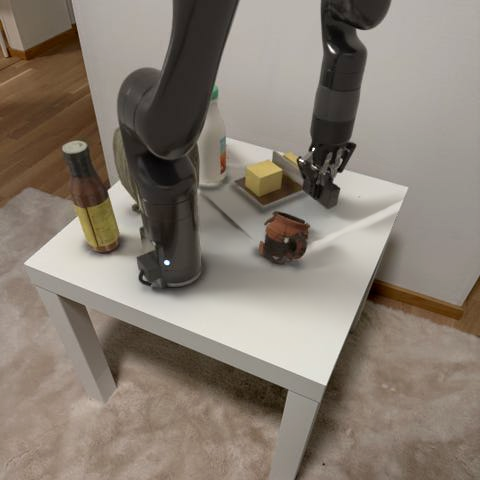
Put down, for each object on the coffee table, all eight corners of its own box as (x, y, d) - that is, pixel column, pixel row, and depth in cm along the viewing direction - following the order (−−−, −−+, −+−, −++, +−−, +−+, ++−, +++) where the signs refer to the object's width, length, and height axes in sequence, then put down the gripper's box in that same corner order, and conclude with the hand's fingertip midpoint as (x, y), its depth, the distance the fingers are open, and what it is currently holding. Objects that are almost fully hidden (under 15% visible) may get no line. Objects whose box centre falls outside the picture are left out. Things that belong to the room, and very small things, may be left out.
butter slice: (294, 182, 98) (297, 164, 94) (280, 172, 100) (282, 154, 97) (301, 180, 99) (304, 161, 95) (287, 170, 101) (289, 151, 98)
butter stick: (258, 197, 94) (260, 178, 91) (245, 185, 97) (245, 167, 93) (280, 188, 96) (282, 169, 93) (266, 177, 99) (268, 159, 95)
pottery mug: (246, 246, 87) (260, 205, 83) (283, 253, 92) (298, 215, 89) (278, 271, 78) (295, 226, 75) (317, 277, 83) (335, 236, 80)
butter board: (262, 211, 93) (263, 205, 92) (233, 186, 99) (233, 180, 98) (322, 187, 100) (324, 181, 99) (292, 165, 105) (292, 159, 104)
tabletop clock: (185, 189, 98) (176, 67, 78) (206, 211, 93) (201, 86, 74) (124, 209, 92) (98, 83, 73) (142, 233, 87) (119, 105, 68)
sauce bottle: (125, 234, 87) (103, 137, 72) (116, 255, 83) (91, 157, 68) (92, 231, 87) (64, 135, 72) (82, 252, 83) (50, 154, 68)
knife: (327, 209, 88) (331, 191, 85) (268, 164, 98) (269, 147, 95) (336, 205, 89) (340, 188, 86) (276, 161, 99) (278, 144, 96)
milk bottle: (213, 192, 97) (211, 99, 82) (185, 181, 100) (178, 89, 84) (232, 176, 101) (233, 85, 86) (204, 166, 104) (201, 75, 89)
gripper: (348, 92, 81) (331, 176, 95) (290, 111, 76) (280, 197, 89) (378, 108, 77) (356, 193, 91) (319, 129, 72) (305, 216, 85)
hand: (319, 195), depth 90 cm, fingers closed on knife, 2 cm apart
